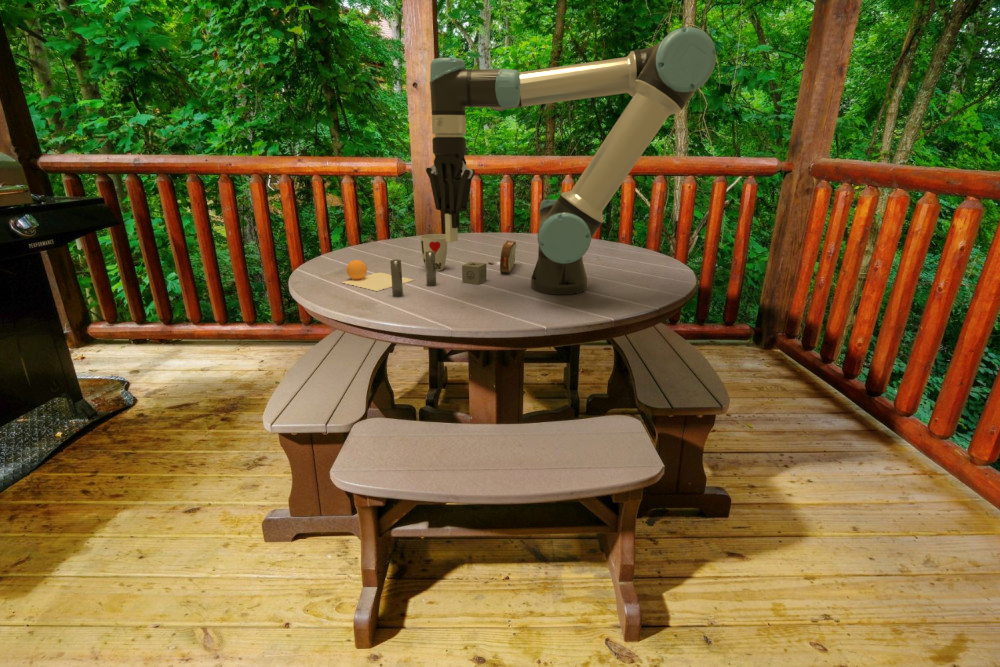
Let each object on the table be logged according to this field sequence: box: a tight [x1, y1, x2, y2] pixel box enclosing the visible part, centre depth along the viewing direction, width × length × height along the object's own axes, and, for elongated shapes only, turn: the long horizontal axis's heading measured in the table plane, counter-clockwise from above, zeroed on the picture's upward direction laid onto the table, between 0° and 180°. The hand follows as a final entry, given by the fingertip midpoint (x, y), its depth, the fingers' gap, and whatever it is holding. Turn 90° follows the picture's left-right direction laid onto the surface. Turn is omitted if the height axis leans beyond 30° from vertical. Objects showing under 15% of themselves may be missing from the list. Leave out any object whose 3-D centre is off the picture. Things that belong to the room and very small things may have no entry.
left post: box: [389, 259, 404, 298], centre depth 132 cm, size 3×3×9 cm
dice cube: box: [461, 261, 487, 286], centre depth 146 cm, size 5×5×5 cm
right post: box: [425, 251, 437, 287], centre depth 142 cm, size 3×3×9 cm
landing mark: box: [341, 271, 415, 292], centre depth 146 cm, size 14×14×1 cm
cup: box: [419, 233, 448, 272], centre depth 158 cm, size 8×8×10 cm
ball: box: [346, 259, 368, 280], centre depth 147 cm, size 6×6×6 cm
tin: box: [499, 240, 517, 274], centre depth 158 cm, size 15×3×8 cm, turn 170°
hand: (451, 241), depth 126 cm, fingers closed
